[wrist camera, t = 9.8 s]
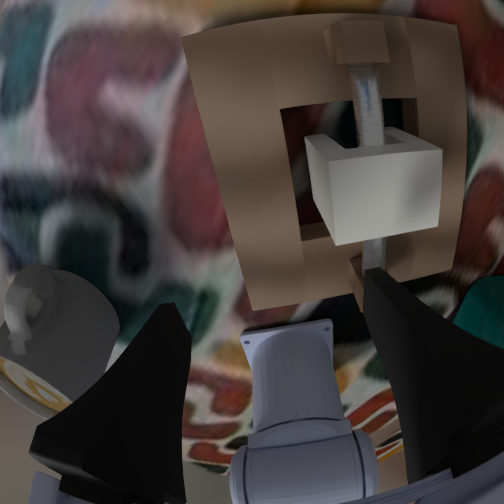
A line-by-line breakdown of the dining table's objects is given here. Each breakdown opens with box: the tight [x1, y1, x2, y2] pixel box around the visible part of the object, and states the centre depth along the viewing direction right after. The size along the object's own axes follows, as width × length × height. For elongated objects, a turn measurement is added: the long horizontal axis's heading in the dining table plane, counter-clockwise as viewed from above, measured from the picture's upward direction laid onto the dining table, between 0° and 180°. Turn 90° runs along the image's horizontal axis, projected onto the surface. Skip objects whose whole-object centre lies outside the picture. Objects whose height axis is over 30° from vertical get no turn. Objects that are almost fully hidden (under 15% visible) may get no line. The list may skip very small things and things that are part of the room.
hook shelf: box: [181, 13, 467, 313], centre depth 15 cm, size 18×16×5 cm
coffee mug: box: [0, 263, 120, 420], centre depth 19 cm, size 13×10×10 cm
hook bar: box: [347, 63, 387, 279], centre depth 14 cm, size 14×1×1 cm, turn 12°
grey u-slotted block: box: [304, 127, 442, 246], centre depth 14 cm, size 4×6×6 cm
